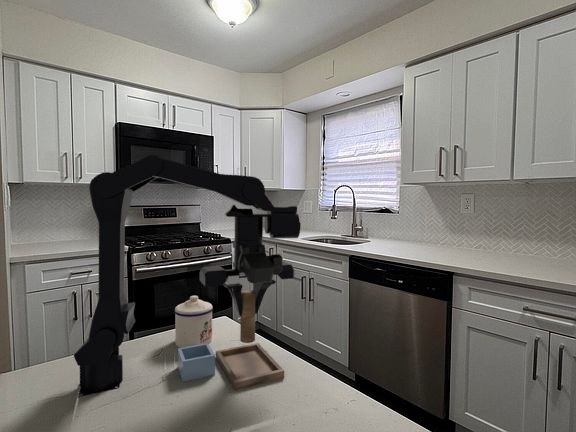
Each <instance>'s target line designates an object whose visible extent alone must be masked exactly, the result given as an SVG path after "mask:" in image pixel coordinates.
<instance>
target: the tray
mask: <svg viewBox="0 0 576 432" xmlns="http://www.w3.org/2000/svg"><path fill="white" fill-rule="evenodd" d="M215 360H217V362H218V364H219V367H220V368H221V369H222V371H223V373H224V374H225V376H226V379H228V382H229V384H230V385H231V386H232V388H233V390H234V391H238V390H243V389H246V388H251V387H254V386H258V385H261V384H265V383H266V384H267V383H270V382H273V381H278V380H281V379H285V370H284V369H283V368H282V366H281V365H280V364H279V363H278V362H277V361H276V360H275V359H274V358H273V357H272V356H271V355H270V353H269V352H267V350H265V348H264V347H263V346H262V345H261V344H260V343H259V342H256V343H251V344H250V343H249V344H244V345H240V346H235V347H231V348H225V349H220V350H215Z"/></svg>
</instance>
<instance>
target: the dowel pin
mask: <svg viewBox="0 0 576 432" xmlns="http://www.w3.org/2000/svg"><path fill="white" fill-rule="evenodd" d="M241 297H242V316H240V340H239V341H240V342H242V343H244V344H250V343H251V344H252V343H253V342H255V341H256V314H255V291H253V289H252V290H251V289H247V290H246V289H245V290H241Z"/></svg>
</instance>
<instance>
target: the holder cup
mask: <svg viewBox="0 0 576 432" xmlns="http://www.w3.org/2000/svg"><path fill="white" fill-rule="evenodd" d="M177 368H178V373H179V376H180V379H181V382H182V383H185V382H189V381H194V380H198V379H202V378H207V377H211V376H215V375H216V353H215V352H214V351H213V349H212V348H211V345H210V344H208V343H206V344H200V345H195V346H189V347H184V348H180V347H178V348H177Z"/></svg>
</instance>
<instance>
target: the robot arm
mask: <svg viewBox="0 0 576 432" xmlns="http://www.w3.org/2000/svg"><path fill="white" fill-rule="evenodd" d="M156 179H163V180H166V181H171V182H175V183H180V184H183V185H187V186H191V187H194V188H198V189H202V190H205V191H210V192H214V193H215V194H219V195H221V196H223V197H226V198H227V199H229V200H232V201H234V202H235V203H238V204H241V205H243V206H250V207H251V206H252V207H254V208H255V209H256V210H258V211H263V212H266V213H254V211H253V208H238V207H237V206H236V205H235V204H232V205H231V207H230V208H229V209H228V210H227V211H226V212H225V213H224V215H225V216H226V217H227V218H232V217H233V218H234V239H233V240H234V242H233V243H232V249H234V254H233V255H234V257H233V258H234V260H233V262H232V268H233V269H224V268H223V267H222V266H220V265H213V266H202V267H201V268H200V271H199V282H201V284H202V285H203V286H204V287H207V288H210V287H211V288H212V287H219V286H220V287H221V286H224V287H225V288H226V289H228V292H229V293H230V295H231V298H232V300H233V301H232V302H233V303H234V306H235V308H236V312H237V314H238V316H239V317H241V316H242V297H241V291H243V289H242V288H243V287H244V286H243V285H242V284H241V283H240V279H244V278H246V280H247V281H248V282H249V283H251V284H252V290H253V291H255V315H257V314H258V312H259V310H260V307H261V305H262V302H263V298H264V296H265V294H266V292H267V290H268V289H269V288H270V286H272V285H274V284H276V282H277V281H276V280H274V276H276V275H277V277H278V278H280V280H288V279H295V269H294V266H293V265H292V264H291V263H288V262H285V261H283V256H282V255H281V254H280V253H277V254H271V255H267V253H266V246H265V244H264V243H263V238H264V237H263V236H264V234H263V233H264V232H265V235H266V234H267V235H269V238H270V239H271V240H272V239H298V238H299V237H300V234H301V222H300V216H299V215H300V214H299V213H298V207H297V206H295V205H291V206H289V205H288V206H274V205H273V203H272V202H271V201H270V199H269V197H268V196H267V195H266V189H265V185H264V183H263V181H262V180H261V179H260V178H258V177H256V176H250V175H240V174H224V173H223V174H222V173H218V172H214V171H210V170H206V169H203V168H199V167H196V166H193V165H188V164H184V163H181V162H178V161H174V160H170V159H166V158H163V157H160V156H159V155H156V154H148V155H146V156H144V157H143V158H142V159H139V160H138V161H135V162H133V163H130V164H128V165H126V166H124V167H121V168H119V169H116V170H115V171H112V172H107V171H106V172H100V173H99V174H96V175H95V176H94V177H93V178H92V179H91V181H90V182H89V185H88V186H89V187H88V188H89V195H90V199H91V200H90V201H91V205H92V209H93V212H94V214H95V217H96V219H97V222H98V300H97V304H96V307H95V309H94V313H93V315H92V318H91V323H90V329H89V333H88V338H87V339H86V340H85V342H84V343H83V344H82V345H81V346H79V348H78V349H77V350H76V352H75V353H74V355H73V357H74V360H75V362H76V364H77V366H78V367H79V390H78V395H77V397H78V398H77V399H80V397H84V396H89V395H93V394H99V393H103V392H107V391H113V390H117V389H120V386H121V382H123V380H124V379H123V378H124V377H123V374H124V373H123V372H124V369H123V368H124V367H123V366H124V365H123V359H124V358H123V354H120V346H122V344H123V342H124V340H125V339H126V337H127V335H128V334H129V333H130V331H131V330H132V328H133V326H134V324H135V323H136V318H135V314H134V312H135V307H136V302H135V301H133V302H129V303H128V301H127V297H126V295H125V262H126V261H125V257H126V255H125V252H126V251H125V248H126V247H125V245H126V243H125V242H126V241H125V239H126V238H125V237H126V236H125V235H126V233H125V232H126V220H127V217H128V214H129V211H130V208H131V203H132V199H133V194H134V192H136V191H138V190H140V189H142V188H143V187H145V186H146V185H148V184H149V183H151V182H153V181H155V180H156ZM263 227H264V229H263Z"/></svg>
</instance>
